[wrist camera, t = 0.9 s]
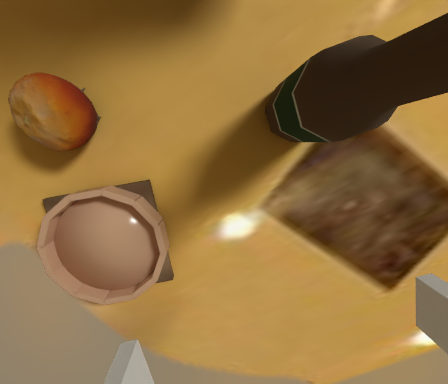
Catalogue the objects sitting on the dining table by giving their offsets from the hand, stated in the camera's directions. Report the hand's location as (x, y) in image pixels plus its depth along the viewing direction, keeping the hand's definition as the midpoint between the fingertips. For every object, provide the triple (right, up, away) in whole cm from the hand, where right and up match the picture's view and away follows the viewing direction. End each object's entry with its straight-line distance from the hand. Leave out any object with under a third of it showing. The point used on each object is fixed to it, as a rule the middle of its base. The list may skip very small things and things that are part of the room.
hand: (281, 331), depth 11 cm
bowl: (-18, 0, +21) cm, 28 cm away
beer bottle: (+6, +17, +20) cm, 27 cm away
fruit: (-22, +16, +18) cm, 33 cm away
